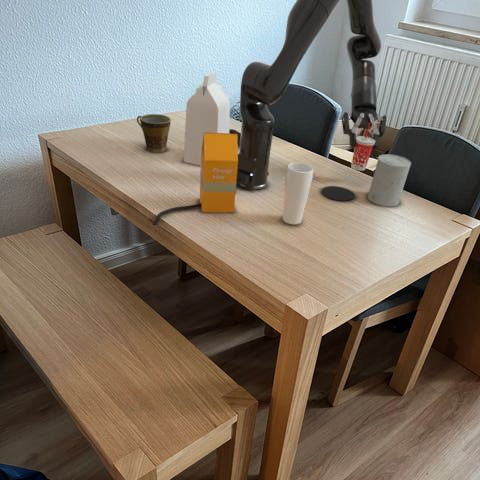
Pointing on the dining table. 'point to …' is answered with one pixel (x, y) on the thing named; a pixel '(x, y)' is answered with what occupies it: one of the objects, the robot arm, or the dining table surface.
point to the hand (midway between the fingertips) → (364, 147)
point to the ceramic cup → (155, 131)
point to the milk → (205, 116)
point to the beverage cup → (362, 151)
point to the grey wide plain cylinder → (389, 180)
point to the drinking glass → (296, 191)
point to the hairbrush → (237, 135)
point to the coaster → (337, 193)
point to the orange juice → (218, 172)
